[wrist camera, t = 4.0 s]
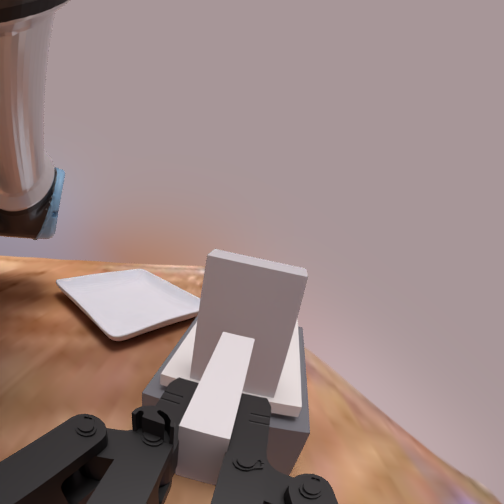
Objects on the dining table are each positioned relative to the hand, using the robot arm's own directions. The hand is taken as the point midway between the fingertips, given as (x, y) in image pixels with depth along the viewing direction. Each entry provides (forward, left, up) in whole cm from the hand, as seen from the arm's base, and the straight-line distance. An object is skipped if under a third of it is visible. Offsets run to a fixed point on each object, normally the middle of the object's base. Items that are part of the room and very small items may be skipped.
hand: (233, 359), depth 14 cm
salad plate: (-38, -6, -17) cm, 42 cm away
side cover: (-11, +5, -7) cm, 14 cm away
